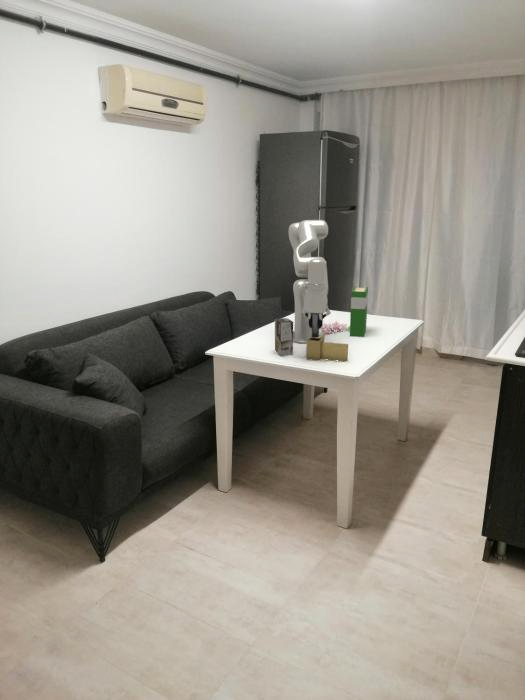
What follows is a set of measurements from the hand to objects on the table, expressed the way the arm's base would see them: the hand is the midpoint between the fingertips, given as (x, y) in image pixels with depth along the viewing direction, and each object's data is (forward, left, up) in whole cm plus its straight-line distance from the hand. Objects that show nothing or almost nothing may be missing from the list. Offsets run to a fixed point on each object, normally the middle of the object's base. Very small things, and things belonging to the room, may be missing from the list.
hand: (315, 327), depth 248 cm
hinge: (+6, +6, -15) cm, 17 cm away
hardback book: (+9, +55, -15) cm, 58 cm away
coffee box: (-16, +3, -15) cm, 22 cm away
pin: (0, 0, -4) cm, 4 cm away
